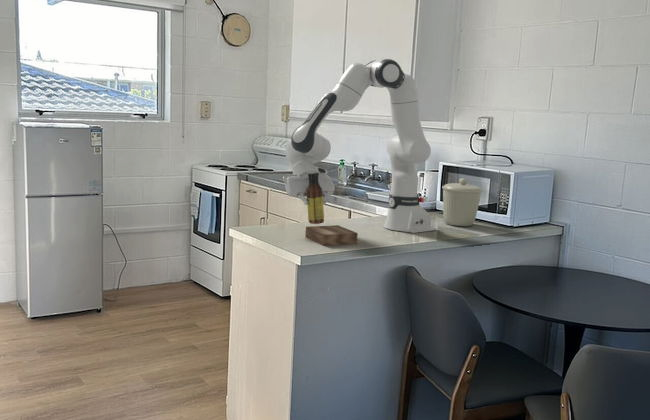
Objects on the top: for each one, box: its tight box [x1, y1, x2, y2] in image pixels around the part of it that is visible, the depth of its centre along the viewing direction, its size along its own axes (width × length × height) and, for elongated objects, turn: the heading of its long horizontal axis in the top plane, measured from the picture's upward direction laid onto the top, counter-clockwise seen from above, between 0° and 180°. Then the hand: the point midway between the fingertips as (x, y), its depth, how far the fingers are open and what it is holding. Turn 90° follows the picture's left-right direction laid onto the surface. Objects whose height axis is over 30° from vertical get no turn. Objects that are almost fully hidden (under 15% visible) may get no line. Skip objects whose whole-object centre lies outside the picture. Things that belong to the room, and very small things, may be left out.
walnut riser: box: [304, 224, 359, 247], centre depth 238 cm, size 14×14×4 cm
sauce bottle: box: [306, 172, 325, 225], centre depth 248 cm, size 6×6×20 cm
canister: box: [441, 177, 484, 227], centre depth 287 cm, size 18×18×21 cm
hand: (315, 203), depth 247 cm, fingers closed on sauce bottle, 6 cm apart
